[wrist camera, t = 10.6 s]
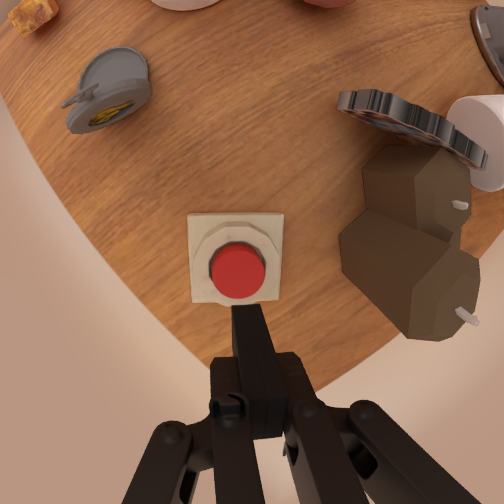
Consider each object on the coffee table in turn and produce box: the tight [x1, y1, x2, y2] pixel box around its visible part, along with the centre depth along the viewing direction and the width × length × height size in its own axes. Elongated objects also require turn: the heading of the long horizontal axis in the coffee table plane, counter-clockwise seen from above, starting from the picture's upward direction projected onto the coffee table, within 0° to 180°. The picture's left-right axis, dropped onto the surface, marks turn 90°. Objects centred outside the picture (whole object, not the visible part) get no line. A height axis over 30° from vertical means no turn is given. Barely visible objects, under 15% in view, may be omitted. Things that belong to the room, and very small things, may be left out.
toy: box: [336, 89, 488, 171], centre depth 18 cm, size 14×2×10 cm, turn 79°
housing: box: [187, 212, 284, 307], centre depth 24 cm, size 8×8×3 cm
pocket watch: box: [61, 46, 152, 134], centre depth 14 cm, size 8×8×10 cm
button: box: [212, 244, 265, 299], centre depth 22 cm, size 4×4×2 cm
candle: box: [339, 145, 480, 342], centre depth 19 cm, size 14×14×15 cm
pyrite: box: [8, 0, 59, 39], centre depth 11 cm, size 5×7×4 cm
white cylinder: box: [446, 95, 504, 192], centre depth 20 cm, size 13×10×10 cm
